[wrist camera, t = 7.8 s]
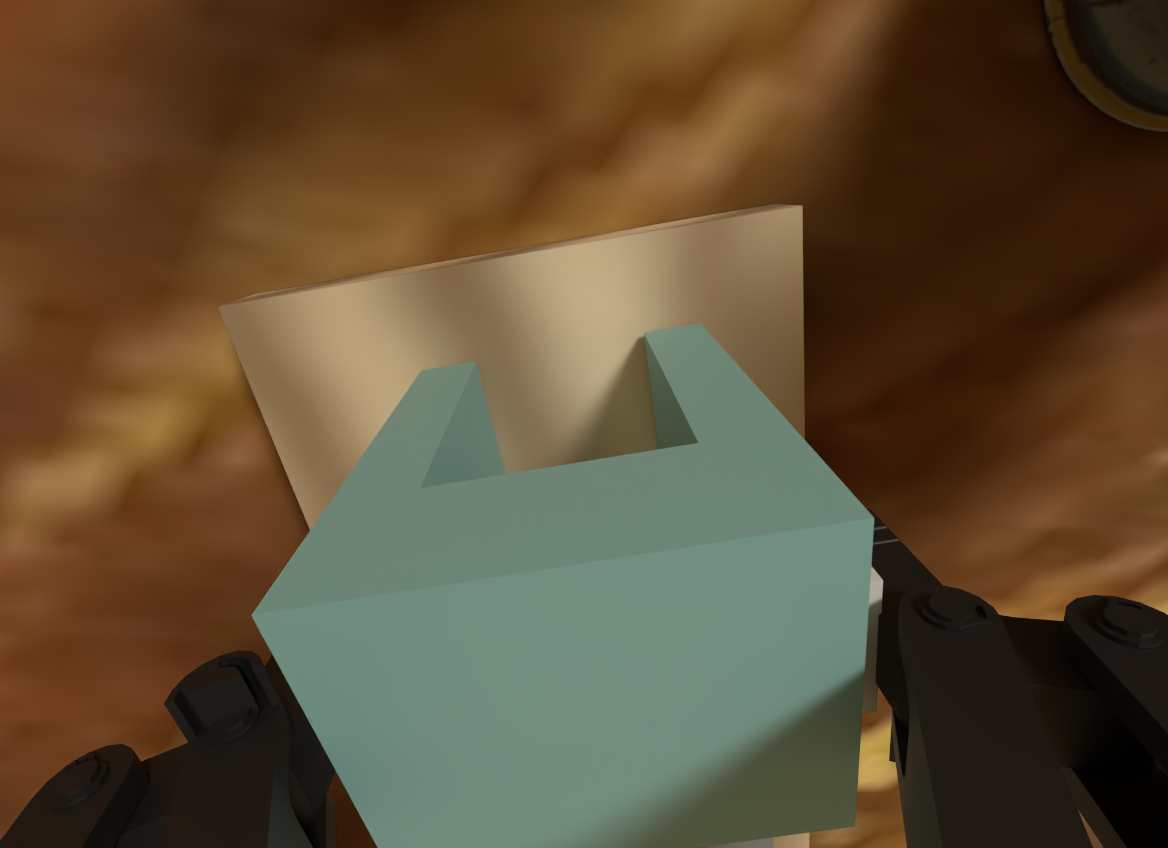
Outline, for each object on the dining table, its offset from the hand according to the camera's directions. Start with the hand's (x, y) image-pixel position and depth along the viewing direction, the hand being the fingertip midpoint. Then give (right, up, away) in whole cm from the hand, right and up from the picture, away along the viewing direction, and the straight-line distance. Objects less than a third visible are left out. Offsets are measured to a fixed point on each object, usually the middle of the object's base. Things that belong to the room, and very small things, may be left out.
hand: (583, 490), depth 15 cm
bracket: (0, +1, +1) cm, 2 cm away
